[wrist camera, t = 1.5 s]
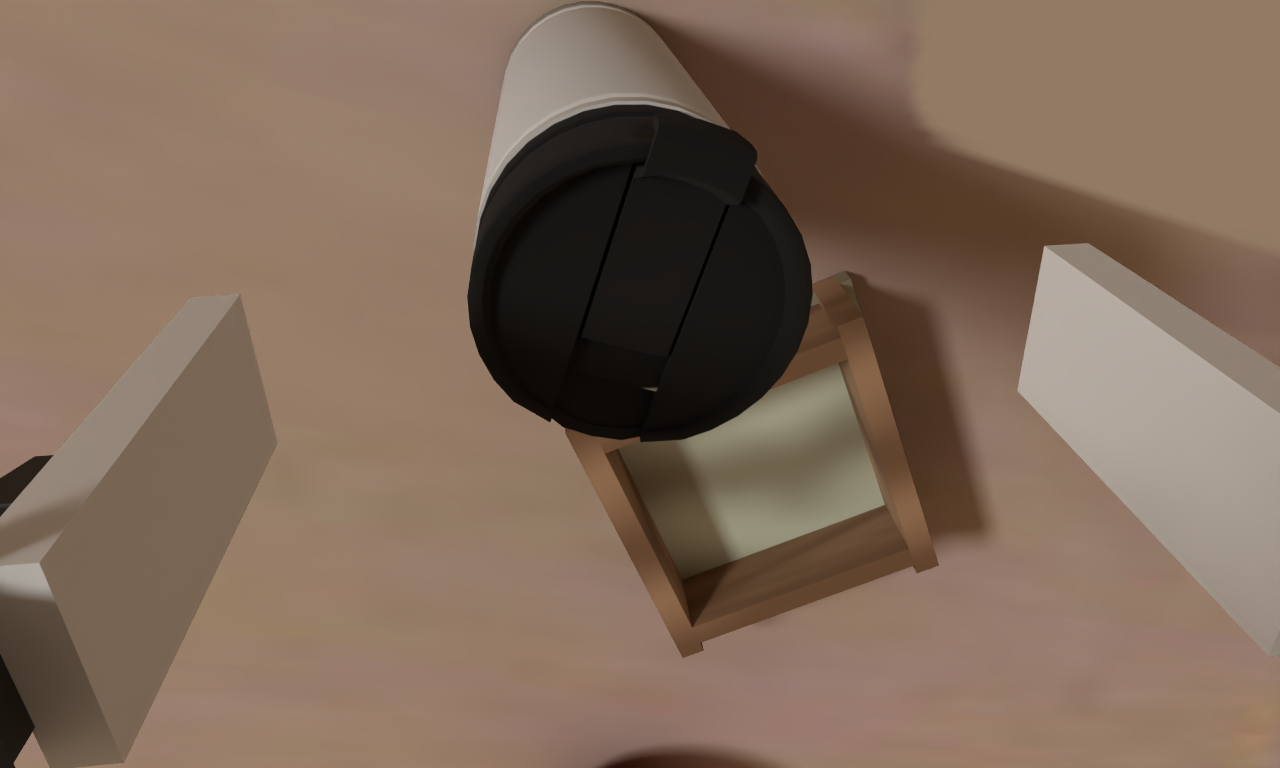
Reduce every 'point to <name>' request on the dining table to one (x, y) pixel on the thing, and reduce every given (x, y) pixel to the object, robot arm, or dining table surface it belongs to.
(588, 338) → the travel mug
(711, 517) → the walnut caddy
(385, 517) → the dining table surface
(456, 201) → the dining table surface
